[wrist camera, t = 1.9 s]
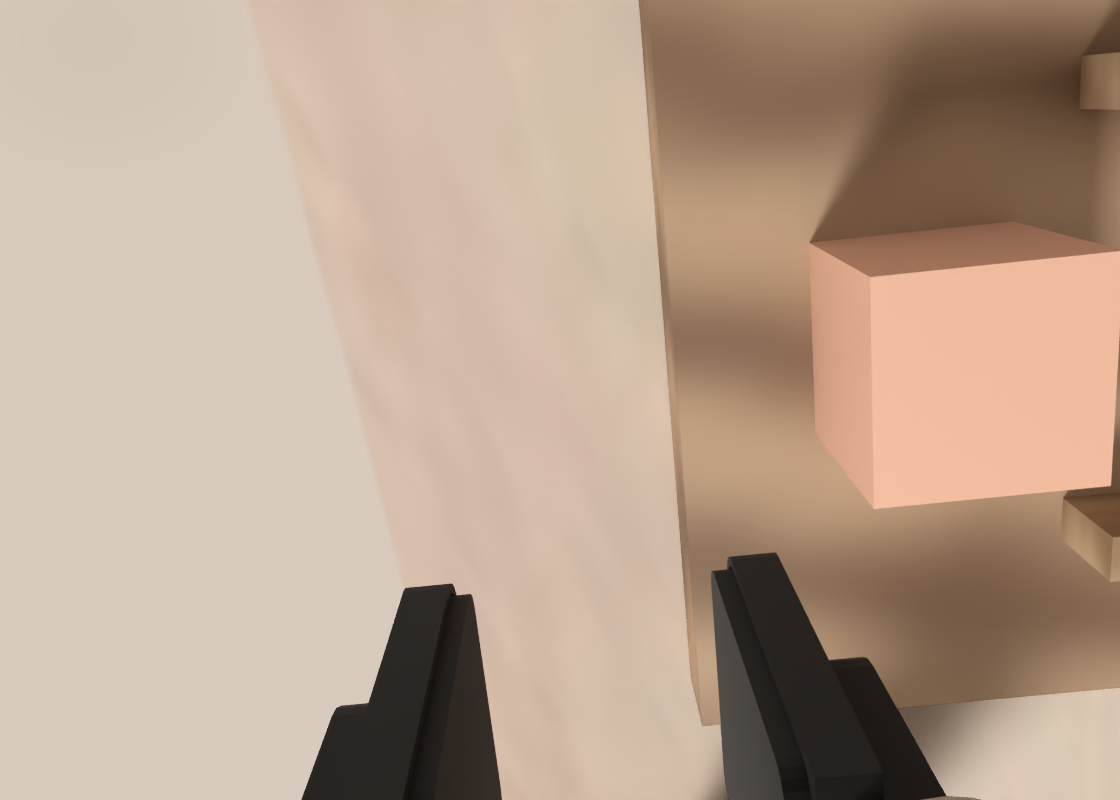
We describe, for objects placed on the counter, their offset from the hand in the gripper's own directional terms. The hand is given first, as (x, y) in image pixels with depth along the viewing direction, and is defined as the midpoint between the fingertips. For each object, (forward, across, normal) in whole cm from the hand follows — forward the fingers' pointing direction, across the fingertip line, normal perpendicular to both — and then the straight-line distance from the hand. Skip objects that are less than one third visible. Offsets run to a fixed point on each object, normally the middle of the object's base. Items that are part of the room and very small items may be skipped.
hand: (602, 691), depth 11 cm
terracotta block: (+15, -8, 0) cm, 17 cm away
